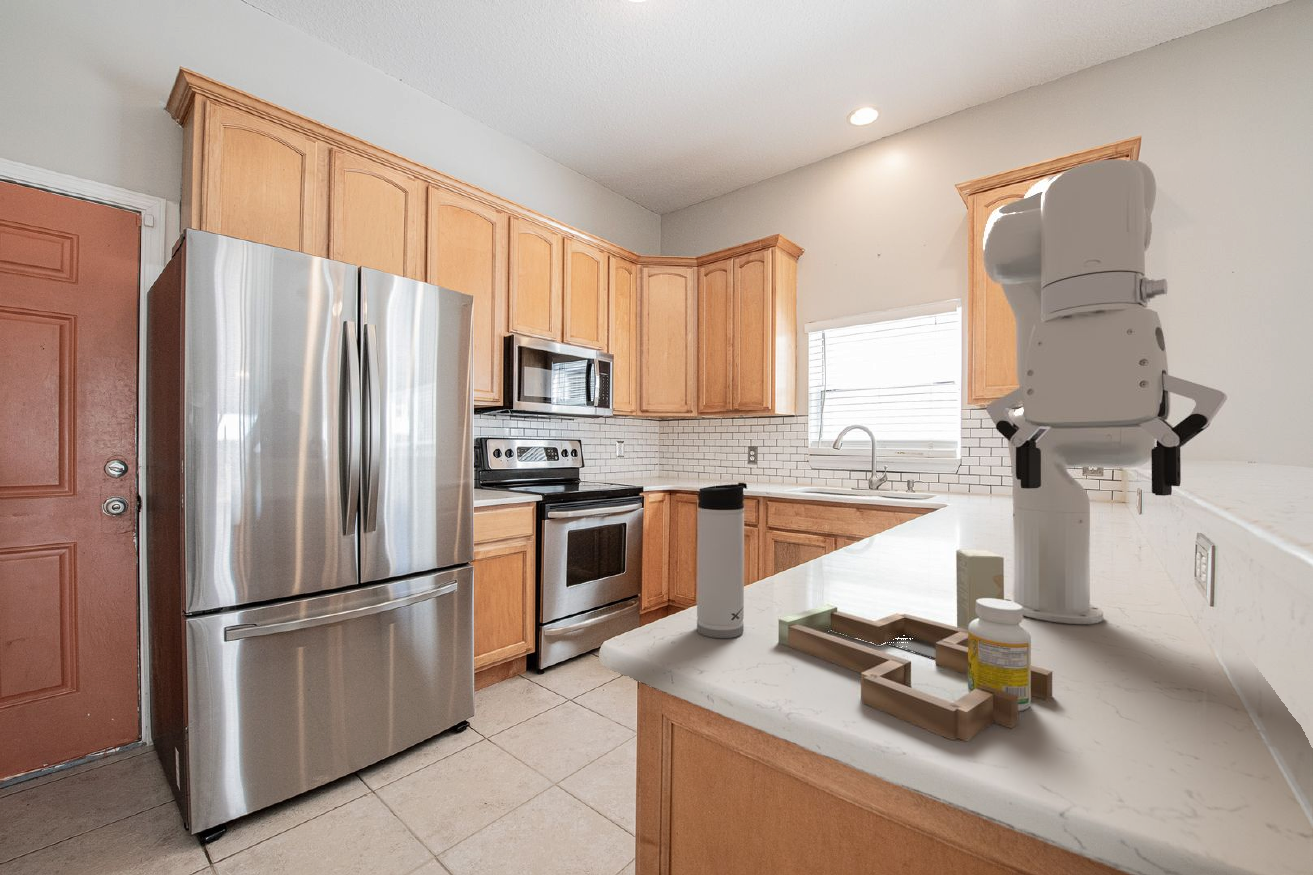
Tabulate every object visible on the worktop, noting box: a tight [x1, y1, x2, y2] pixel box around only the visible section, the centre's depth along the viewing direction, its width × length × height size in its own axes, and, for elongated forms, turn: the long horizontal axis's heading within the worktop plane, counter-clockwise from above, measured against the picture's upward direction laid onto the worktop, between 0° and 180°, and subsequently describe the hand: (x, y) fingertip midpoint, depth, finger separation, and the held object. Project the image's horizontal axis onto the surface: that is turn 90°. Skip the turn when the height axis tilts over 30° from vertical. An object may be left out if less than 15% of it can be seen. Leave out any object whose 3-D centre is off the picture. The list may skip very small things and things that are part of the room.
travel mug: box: [696, 482, 748, 640], centre depth 75 cm, size 6×7×20 cm
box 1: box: [778, 604, 1053, 742], centre depth 63 cm, size 23×26×3 cm
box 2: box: [955, 549, 1005, 630], centre depth 73 cm, size 5×4×11 cm
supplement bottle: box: [967, 598, 1032, 712], centre depth 55 cm, size 5×5×10 cm
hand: (1091, 491), depth 50 cm, fingers open, 9 cm apart
